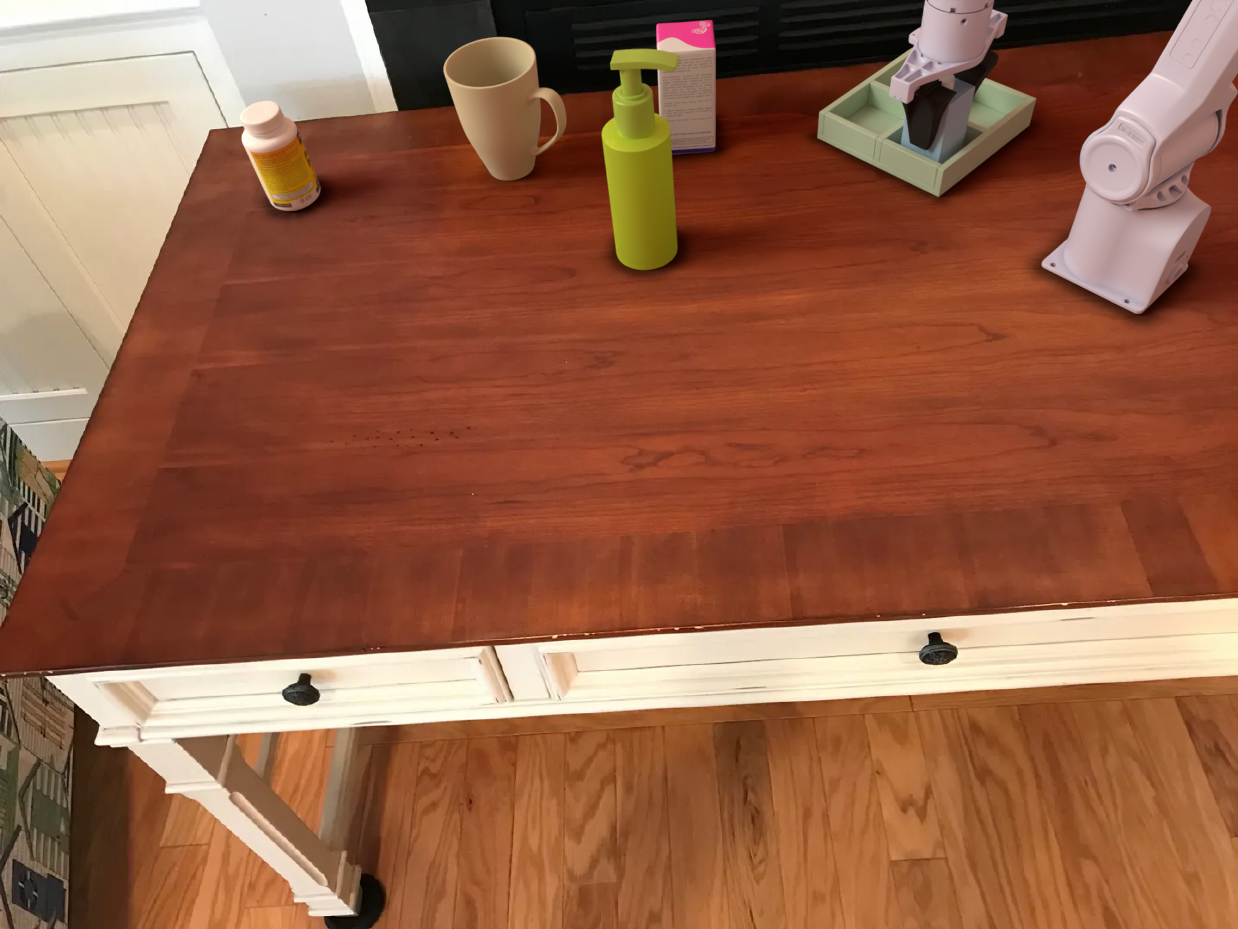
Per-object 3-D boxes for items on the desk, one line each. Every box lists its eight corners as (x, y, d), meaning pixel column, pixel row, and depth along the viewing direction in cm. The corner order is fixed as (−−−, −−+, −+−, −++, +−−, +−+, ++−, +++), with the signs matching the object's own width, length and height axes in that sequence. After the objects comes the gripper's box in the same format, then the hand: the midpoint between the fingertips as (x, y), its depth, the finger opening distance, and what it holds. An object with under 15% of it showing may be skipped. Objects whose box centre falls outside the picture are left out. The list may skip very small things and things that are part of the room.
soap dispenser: (683, 272, 92) (672, 76, 76) (611, 268, 93) (585, 74, 77) (692, 231, 95) (683, 35, 79) (622, 228, 96) (600, 34, 80)
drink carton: (962, 150, 97) (977, 76, 90) (937, 169, 95) (951, 95, 89) (924, 133, 99) (936, 59, 93) (899, 151, 97) (910, 78, 91)
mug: (472, 205, 101) (445, 100, 91) (468, 148, 107) (442, 44, 97) (577, 187, 101) (561, 81, 91) (567, 132, 107) (550, 27, 98)
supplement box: (717, 152, 102) (715, 48, 93) (661, 156, 103) (653, 54, 94) (714, 119, 106) (712, 17, 97) (660, 123, 106) (652, 22, 97)
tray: (1029, 125, 100) (1036, 98, 98) (938, 197, 95) (943, 170, 92) (907, 73, 108) (911, 47, 105) (817, 137, 102) (818, 111, 100)
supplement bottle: (331, 196, 104) (297, 110, 96) (286, 220, 102) (247, 135, 94) (307, 173, 107) (271, 88, 99) (261, 197, 105) (222, 113, 97)
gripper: (970, -50, 89) (945, 86, 100) (868, 17, 84) (853, 152, 95) (1039, -27, 86) (1006, 111, 97) (937, 44, 81) (914, 182, 91)
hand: (934, 133), depth 95 cm, fingers closed on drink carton, 4 cm apart
